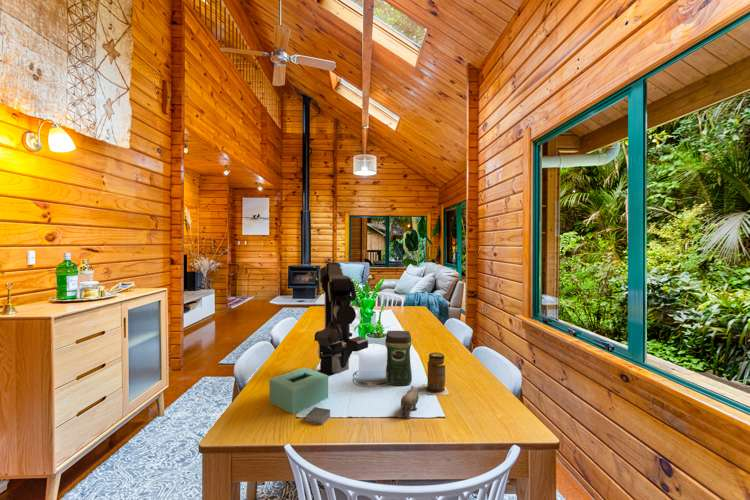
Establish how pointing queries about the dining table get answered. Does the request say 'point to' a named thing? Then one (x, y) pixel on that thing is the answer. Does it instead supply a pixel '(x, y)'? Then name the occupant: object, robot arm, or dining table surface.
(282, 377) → the teal box
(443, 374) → the condiment
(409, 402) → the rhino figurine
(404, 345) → the coffee jar
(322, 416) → the block
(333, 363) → the block
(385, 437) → the dining table surface
